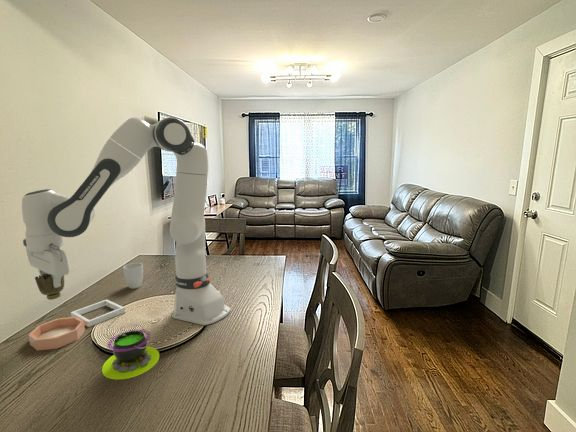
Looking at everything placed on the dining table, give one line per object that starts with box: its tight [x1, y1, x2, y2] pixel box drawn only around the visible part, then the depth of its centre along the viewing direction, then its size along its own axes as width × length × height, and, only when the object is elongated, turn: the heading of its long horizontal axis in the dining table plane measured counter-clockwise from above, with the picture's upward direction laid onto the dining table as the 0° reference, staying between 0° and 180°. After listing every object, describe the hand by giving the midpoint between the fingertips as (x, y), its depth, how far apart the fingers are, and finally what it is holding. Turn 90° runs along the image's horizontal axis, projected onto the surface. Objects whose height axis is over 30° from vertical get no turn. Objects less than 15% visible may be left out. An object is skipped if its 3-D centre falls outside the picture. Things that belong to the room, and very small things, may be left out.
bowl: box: [28, 316, 86, 351], centre depth 103 cm, size 14×14×4 cm
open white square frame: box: [70, 299, 126, 328], centre depth 118 cm, size 13×13×2 cm
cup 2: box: [34, 274, 65, 301], centre depth 100 cm, size 8×7×8 cm
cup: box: [122, 262, 144, 290], centre depth 144 cm, size 8×8×10 cm
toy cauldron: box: [101, 322, 161, 381], centre depth 90 cm, size 15×15×11 cm
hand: (51, 284), depth 100 cm, fingers closed on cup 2, 7 cm apart
